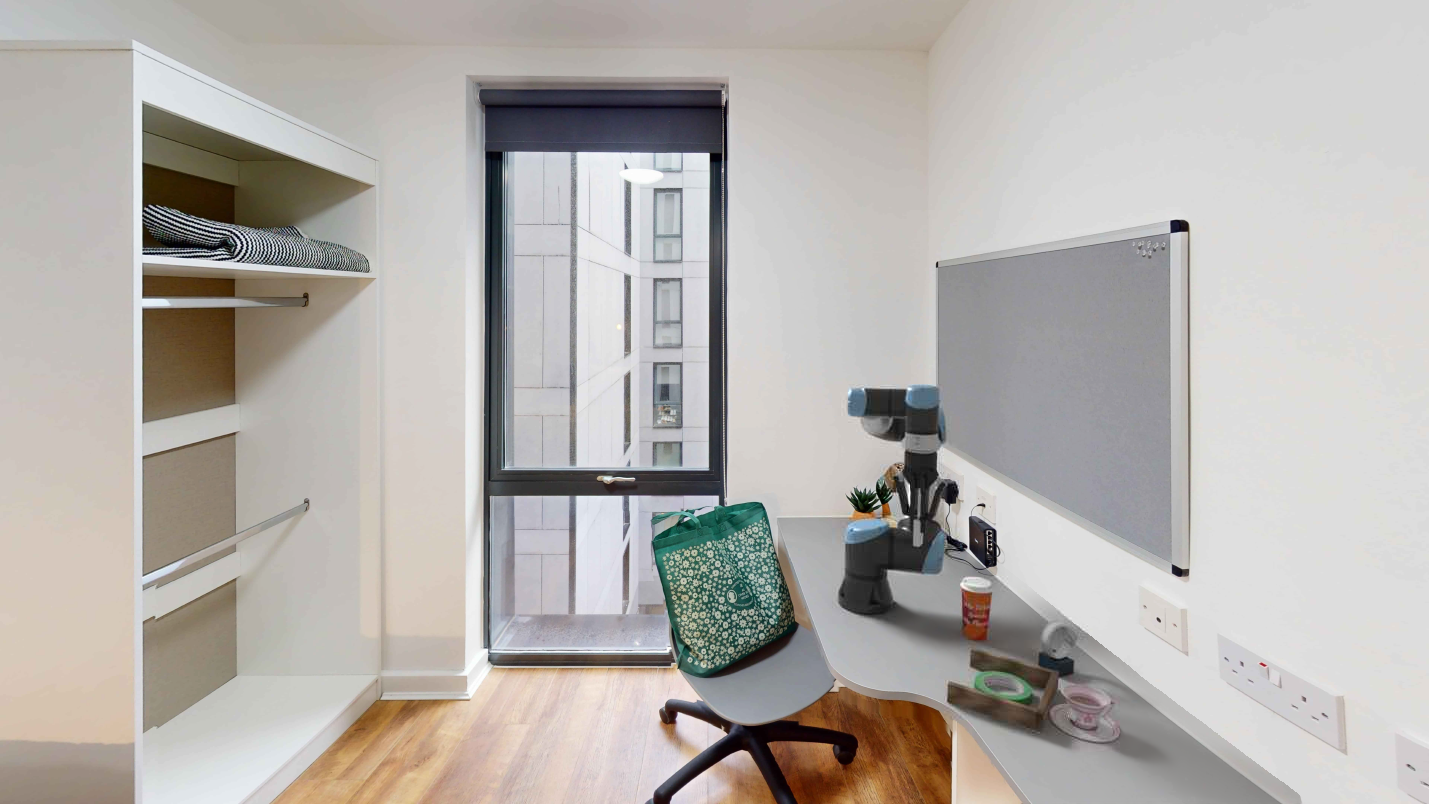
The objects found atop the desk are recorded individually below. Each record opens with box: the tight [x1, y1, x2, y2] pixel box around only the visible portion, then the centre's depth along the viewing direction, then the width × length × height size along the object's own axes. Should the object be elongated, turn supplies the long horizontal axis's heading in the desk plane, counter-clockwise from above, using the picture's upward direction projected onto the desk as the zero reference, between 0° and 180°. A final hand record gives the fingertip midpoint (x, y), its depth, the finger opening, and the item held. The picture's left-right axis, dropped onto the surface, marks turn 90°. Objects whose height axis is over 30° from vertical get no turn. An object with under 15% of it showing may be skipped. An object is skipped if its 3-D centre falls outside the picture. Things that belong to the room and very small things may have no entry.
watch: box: [1037, 620, 1078, 678], centre depth 144 cm, size 6×8×11 cm
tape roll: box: [973, 671, 1033, 707], centre depth 135 cm, size 11×11×3 cm
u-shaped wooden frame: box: [946, 647, 1060, 734], centre depth 134 cm, size 18×18×4 cm
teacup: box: [1048, 683, 1121, 744], centre depth 125 cm, size 12×12×6 cm
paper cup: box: [959, 576, 995, 642], centre depth 160 cm, size 8×8×14 cm
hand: (917, 544), depth 157 cm, fingers closed
